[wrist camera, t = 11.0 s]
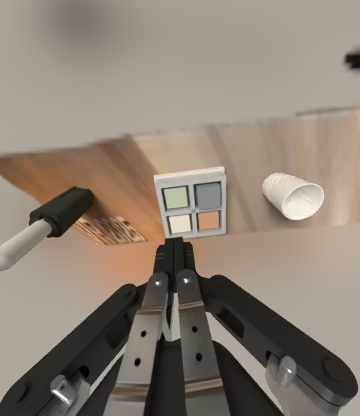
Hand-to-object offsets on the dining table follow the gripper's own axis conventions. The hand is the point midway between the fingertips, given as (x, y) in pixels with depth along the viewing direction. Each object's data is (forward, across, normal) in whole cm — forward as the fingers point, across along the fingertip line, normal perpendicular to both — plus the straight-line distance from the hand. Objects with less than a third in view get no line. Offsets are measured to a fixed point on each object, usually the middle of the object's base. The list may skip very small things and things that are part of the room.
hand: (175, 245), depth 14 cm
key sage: (+26, +1, +6) cm, 26 cm away
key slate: (+24, -6, +6) cm, 25 cm away
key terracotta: (+26, -6, +12) cm, 30 cm away
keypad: (+27, -3, +9) cm, 29 cm away
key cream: (+26, +1, +13) cm, 29 cm away
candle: (+27, +24, +4) cm, 37 cm away
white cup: (+27, -24, +7) cm, 37 cm away
